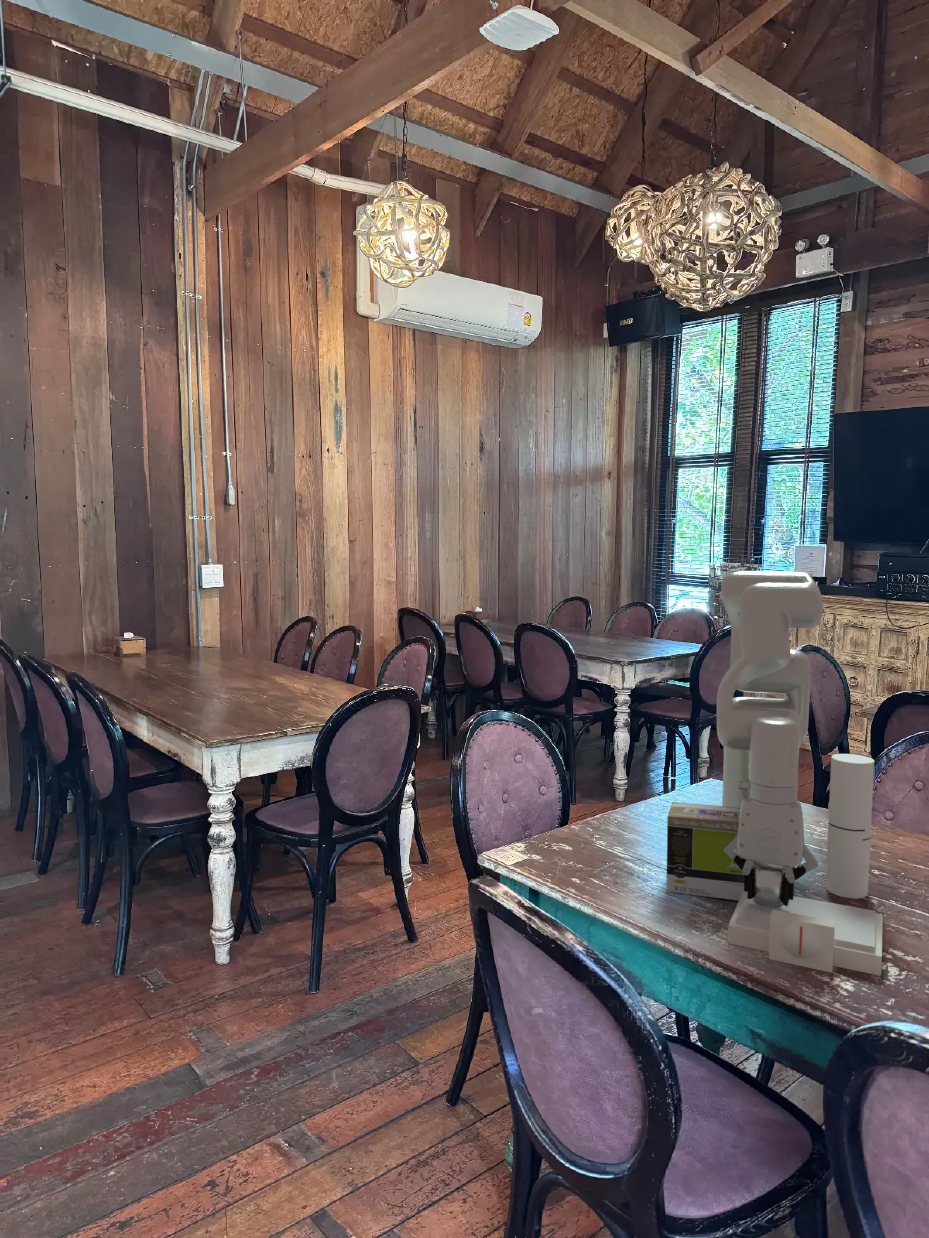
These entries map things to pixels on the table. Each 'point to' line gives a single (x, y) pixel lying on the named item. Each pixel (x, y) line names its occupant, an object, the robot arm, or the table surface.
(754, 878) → the shiny metallic cylinder
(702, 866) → the tea box
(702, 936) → the table surface
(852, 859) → the cylindrical container
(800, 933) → the scale
